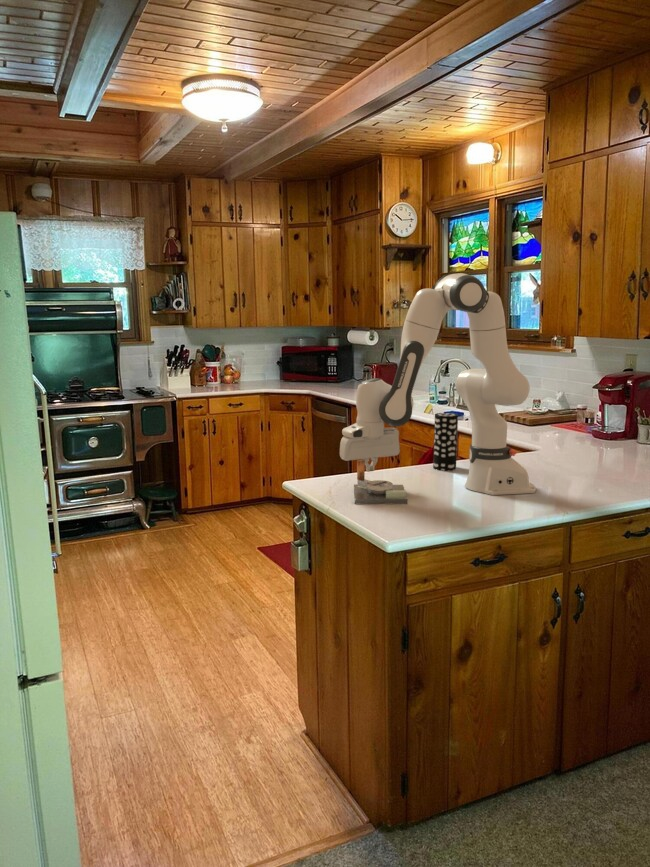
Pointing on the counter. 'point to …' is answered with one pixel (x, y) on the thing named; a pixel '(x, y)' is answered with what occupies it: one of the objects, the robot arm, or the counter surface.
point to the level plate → (380, 496)
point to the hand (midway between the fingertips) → (370, 471)
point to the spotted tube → (445, 441)
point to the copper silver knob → (372, 486)
